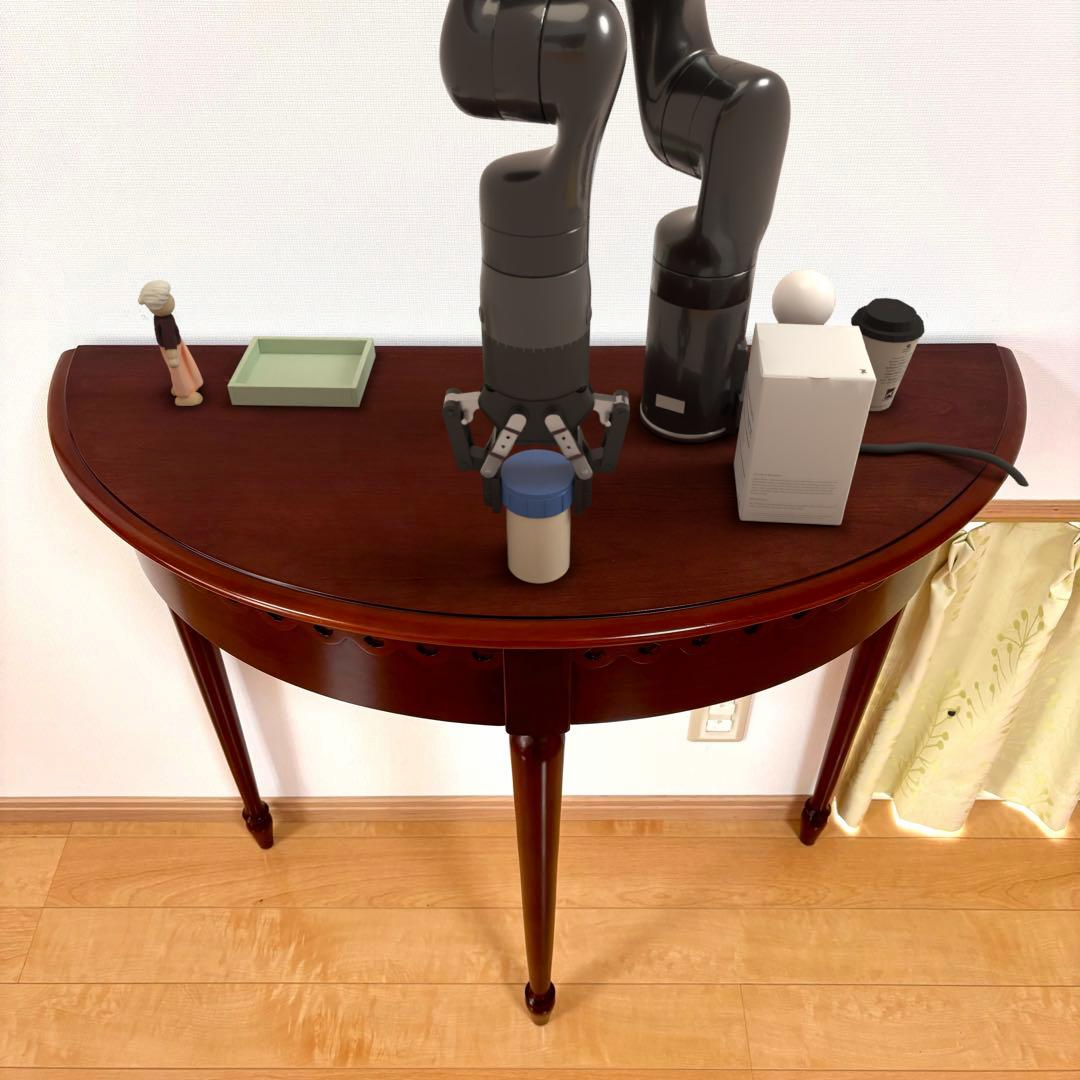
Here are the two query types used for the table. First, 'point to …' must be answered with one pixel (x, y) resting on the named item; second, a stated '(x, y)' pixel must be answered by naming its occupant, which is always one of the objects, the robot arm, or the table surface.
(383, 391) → the table surface
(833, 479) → the rectangular carton
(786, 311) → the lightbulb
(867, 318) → the coffee cup
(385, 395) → the table surface
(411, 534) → the table surface
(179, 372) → the grandmother figurine
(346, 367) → the tray
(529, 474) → the lid
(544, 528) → the jar
